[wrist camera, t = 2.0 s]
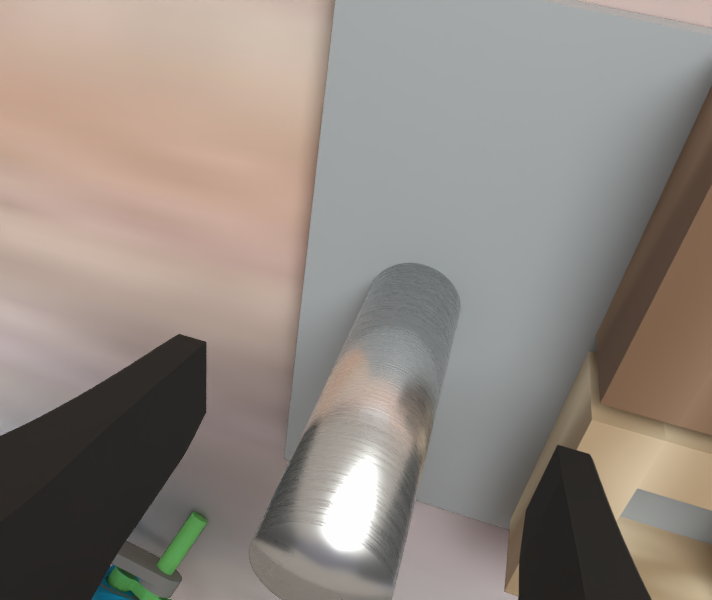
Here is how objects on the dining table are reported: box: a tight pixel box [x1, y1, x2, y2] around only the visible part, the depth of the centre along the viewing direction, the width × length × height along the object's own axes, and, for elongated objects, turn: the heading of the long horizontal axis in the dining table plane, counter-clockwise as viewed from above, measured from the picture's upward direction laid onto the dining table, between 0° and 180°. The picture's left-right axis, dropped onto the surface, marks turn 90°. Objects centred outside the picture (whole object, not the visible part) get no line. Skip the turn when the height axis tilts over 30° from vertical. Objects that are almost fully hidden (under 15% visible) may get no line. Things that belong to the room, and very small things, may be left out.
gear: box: [92, 512, 208, 600], centre depth 24 cm, size 11×6×10 cm
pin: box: [249, 263, 461, 600], centre depth 13 cm, size 2×2×8 cm
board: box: [284, 0, 712, 544], centre depth 16 cm, size 16×15×1 cm
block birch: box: [504, 351, 712, 600], centre depth 17 cm, size 7×7×2 cm
